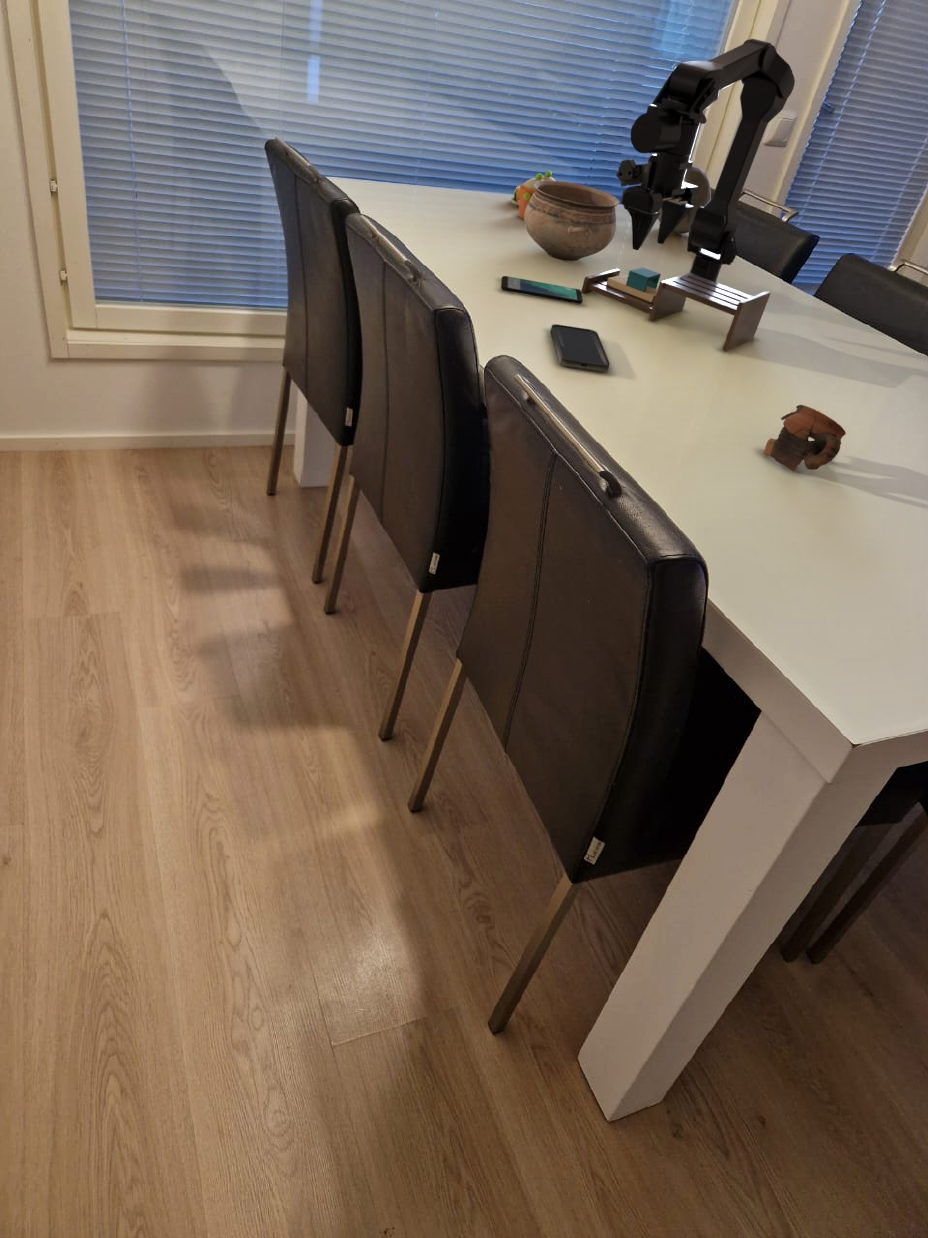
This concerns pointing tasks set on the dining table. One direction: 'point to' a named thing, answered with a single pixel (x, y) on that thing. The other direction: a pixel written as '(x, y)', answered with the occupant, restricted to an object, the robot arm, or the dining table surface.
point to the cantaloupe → (700, 180)
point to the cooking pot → (570, 219)
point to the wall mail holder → (637, 283)
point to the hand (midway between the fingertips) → (647, 246)
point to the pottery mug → (806, 439)
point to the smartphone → (541, 289)
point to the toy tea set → (527, 192)
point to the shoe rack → (696, 289)
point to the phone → (579, 348)
